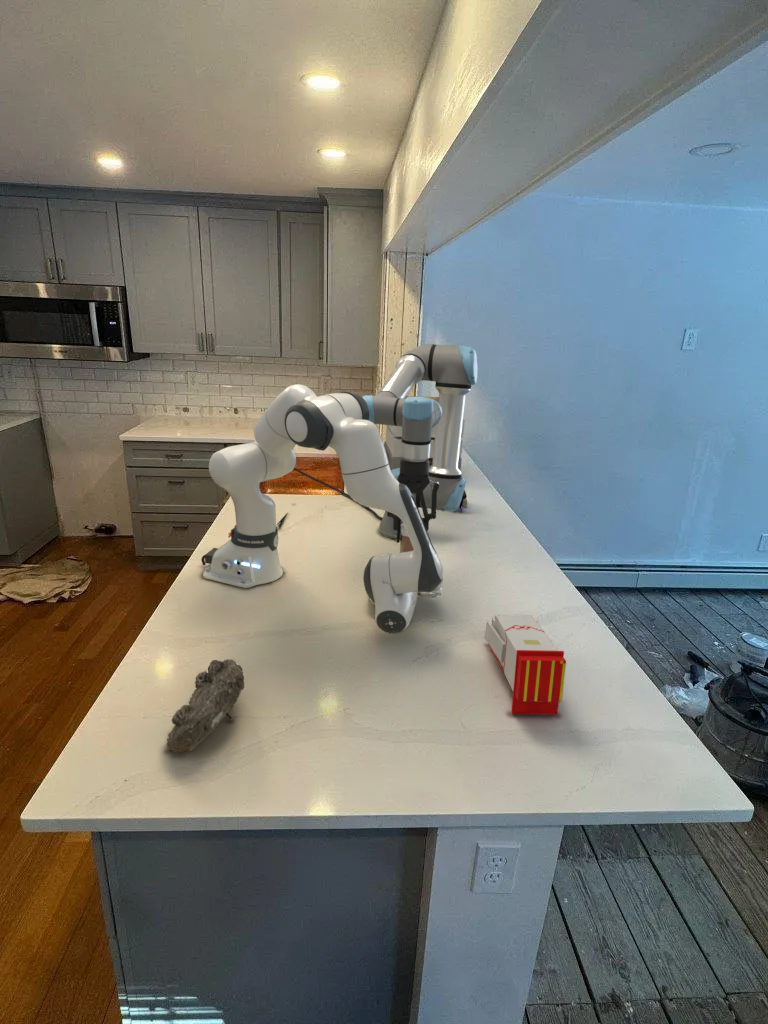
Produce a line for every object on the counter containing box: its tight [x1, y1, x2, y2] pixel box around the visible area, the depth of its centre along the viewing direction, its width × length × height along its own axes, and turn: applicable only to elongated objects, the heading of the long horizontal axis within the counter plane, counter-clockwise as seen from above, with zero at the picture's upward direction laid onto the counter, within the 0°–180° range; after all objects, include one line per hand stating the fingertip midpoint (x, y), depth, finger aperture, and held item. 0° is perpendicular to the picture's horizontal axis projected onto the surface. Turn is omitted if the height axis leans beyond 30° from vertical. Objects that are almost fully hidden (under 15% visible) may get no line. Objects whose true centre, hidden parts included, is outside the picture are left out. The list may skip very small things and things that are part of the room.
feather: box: [276, 513, 288, 529], centre depth 211 cm, size 2×28×2 cm
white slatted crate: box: [383, 395, 465, 472], centre depth 268 cm, size 34×33×41 cm
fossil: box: [166, 658, 245, 754], centre depth 106 cm, size 22×10×15 cm
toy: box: [484, 614, 567, 716], centre depth 124 cm, size 12×13×30 cm
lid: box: [400, 523, 409, 537], centre depth 153 cm, size 6×6×2 cm
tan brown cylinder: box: [399, 535, 414, 553], centre depth 156 cm, size 5×5×19 cm
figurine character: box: [457, 489, 468, 512], centre depth 228 cm, size 7×8×15 cm
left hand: (408, 568), depth 158 cm, fingers closed on tan brown cylinder, 5 cm apart
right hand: (409, 541), depth 154 cm, fingers closed on lid, 6 cm apart
